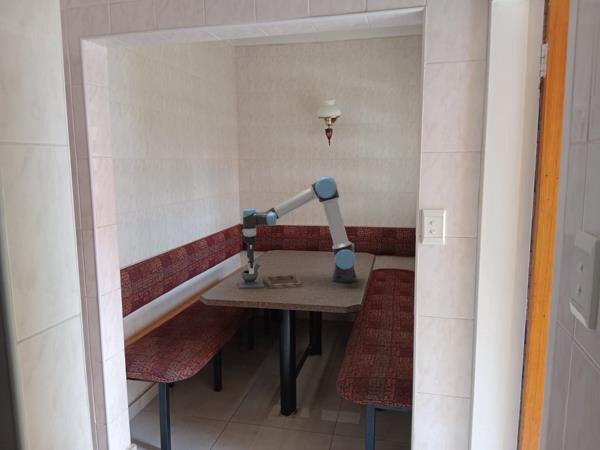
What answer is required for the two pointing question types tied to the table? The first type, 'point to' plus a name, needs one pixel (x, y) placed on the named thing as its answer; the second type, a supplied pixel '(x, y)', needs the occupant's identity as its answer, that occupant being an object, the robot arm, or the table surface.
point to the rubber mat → (257, 284)
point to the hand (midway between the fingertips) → (250, 271)
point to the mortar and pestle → (250, 275)
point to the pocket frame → (297, 284)
